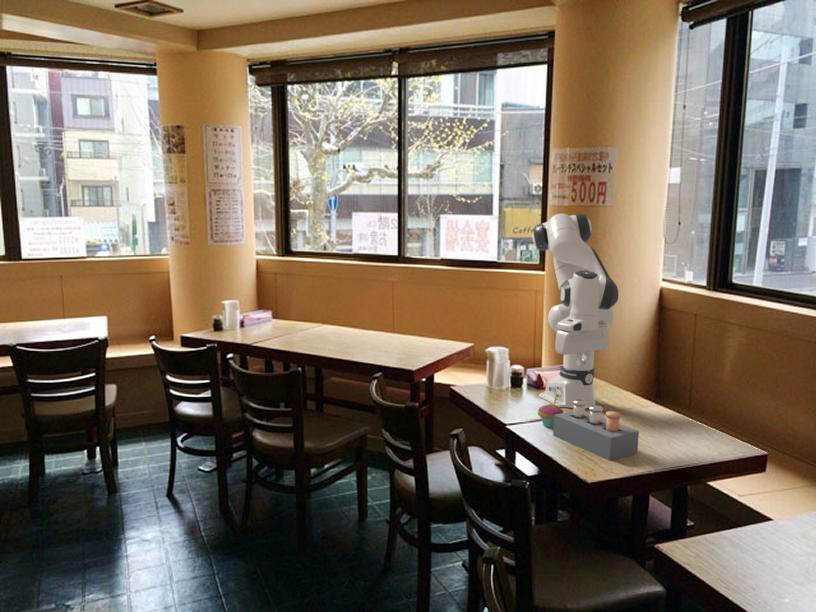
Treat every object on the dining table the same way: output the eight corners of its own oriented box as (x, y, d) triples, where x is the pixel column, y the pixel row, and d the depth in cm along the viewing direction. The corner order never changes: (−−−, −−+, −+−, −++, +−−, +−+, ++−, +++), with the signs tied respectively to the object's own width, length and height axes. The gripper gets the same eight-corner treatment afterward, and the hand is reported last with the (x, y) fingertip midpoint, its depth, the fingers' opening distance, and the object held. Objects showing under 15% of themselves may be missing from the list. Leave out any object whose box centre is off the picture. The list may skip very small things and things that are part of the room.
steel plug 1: (568, 423, 209) (570, 400, 208) (578, 421, 211) (579, 398, 210) (578, 427, 205) (579, 403, 204) (587, 425, 207) (589, 402, 206)
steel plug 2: (584, 430, 203) (586, 406, 202) (594, 427, 205) (595, 404, 204) (594, 434, 199) (596, 409, 198) (604, 431, 201) (605, 407, 200)
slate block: (553, 435, 210) (554, 414, 209) (579, 429, 216) (581, 409, 215) (609, 460, 190) (610, 437, 189) (637, 453, 196) (638, 431, 195)
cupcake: (555, 420, 225) (557, 387, 223) (567, 428, 217) (569, 394, 215) (533, 422, 223) (534, 388, 221) (544, 430, 215) (545, 395, 213)
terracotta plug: (601, 436, 197) (603, 412, 196) (611, 434, 199) (612, 410, 198) (612, 441, 193) (613, 416, 192) (621, 438, 195) (623, 414, 194)
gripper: (599, 318, 211) (597, 359, 213) (552, 323, 201) (551, 366, 203) (614, 321, 205) (612, 363, 208) (567, 326, 195) (565, 371, 197)
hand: (581, 365), depth 205 cm, fingers closed
